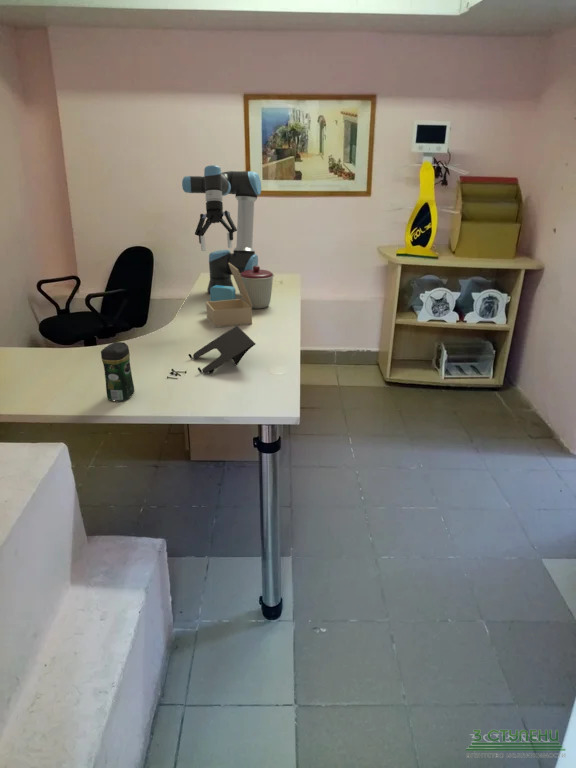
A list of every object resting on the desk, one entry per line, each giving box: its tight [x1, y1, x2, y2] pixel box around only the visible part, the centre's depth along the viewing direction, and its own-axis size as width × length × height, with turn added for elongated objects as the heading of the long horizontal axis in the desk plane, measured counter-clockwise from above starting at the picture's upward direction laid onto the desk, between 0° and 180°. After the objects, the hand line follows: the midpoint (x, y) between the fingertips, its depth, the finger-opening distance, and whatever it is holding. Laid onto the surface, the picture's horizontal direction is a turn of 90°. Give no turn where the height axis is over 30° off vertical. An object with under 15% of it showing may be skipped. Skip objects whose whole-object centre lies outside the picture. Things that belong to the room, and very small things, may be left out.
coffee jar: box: [100, 341, 135, 402], centre depth 188 cm, size 10×8×19 cm
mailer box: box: [205, 298, 253, 329], centre depth 269 cm, size 16×18×8 cm
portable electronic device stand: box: [188, 325, 256, 374], centre depth 220 cm, size 23×23×9 cm
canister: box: [240, 265, 275, 310], centre depth 290 cm, size 18×18×21 cm
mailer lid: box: [228, 263, 253, 306], centre depth 266 cm, size 16×18×1 cm
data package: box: [209, 285, 237, 302], centre depth 285 cm, size 12×4×12 cm, turn 71°
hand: (216, 249), depth 259 cm, fingers open, 13 cm apart
